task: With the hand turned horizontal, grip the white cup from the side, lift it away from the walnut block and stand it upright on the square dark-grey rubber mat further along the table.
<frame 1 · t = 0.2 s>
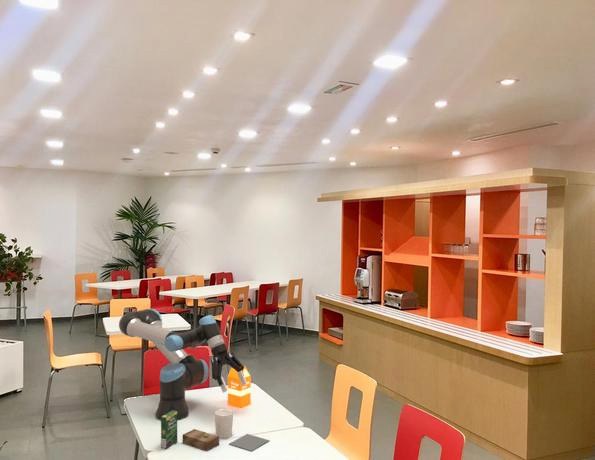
hand: (235, 388, 236), 15 cm above the table, tool tilted 35°, fingers open, 13 cm apart
orange juice: (239, 404, 256), on the table
white cup: (223, 435, 218), on the table
coffee box: (169, 445, 208), on the table
walnut block: (200, 444, 209), on the table
mat: (249, 442, 210), on the table
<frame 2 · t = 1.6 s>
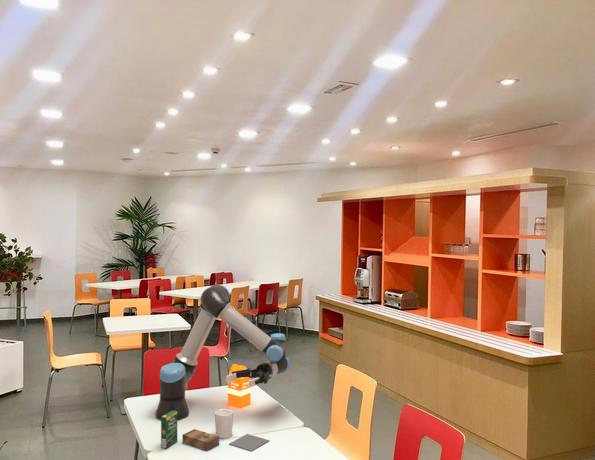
hand: (237, 381, 226), 21 cm above the table, tool horizontal, fingers open, 13 cm apart
nothing on the table moved.
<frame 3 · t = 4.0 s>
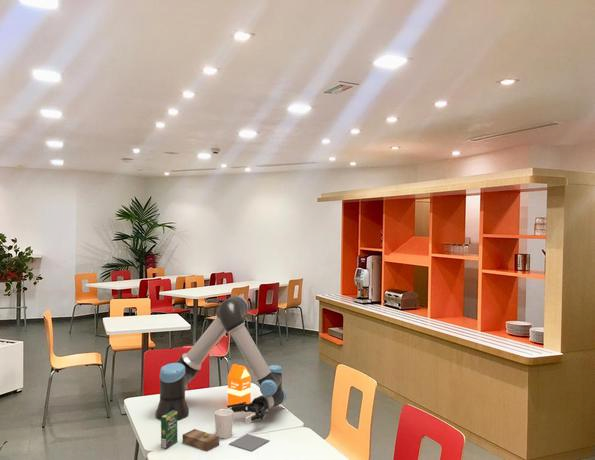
hand: (233, 417, 222), 6 cm above the table, tool horizontal, fingers open, 13 cm apart
nothing on the table moved.
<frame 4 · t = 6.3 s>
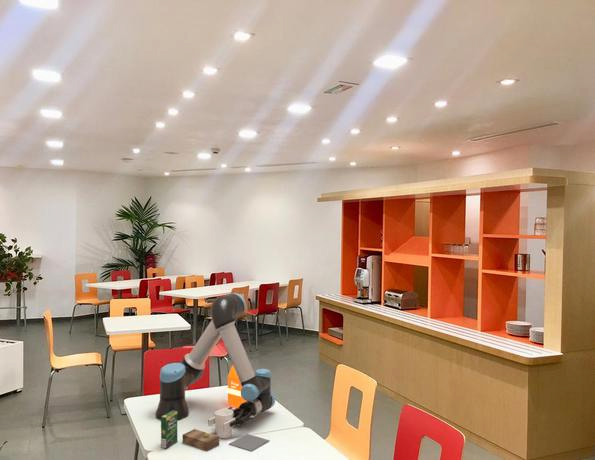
hand: (216, 424, 214), 6 cm above the table, tool horizontal, fingers closed on white cup, 8 cm apart
white cup: (223, 435, 218), on the table, touching gripper
everything else where it was.
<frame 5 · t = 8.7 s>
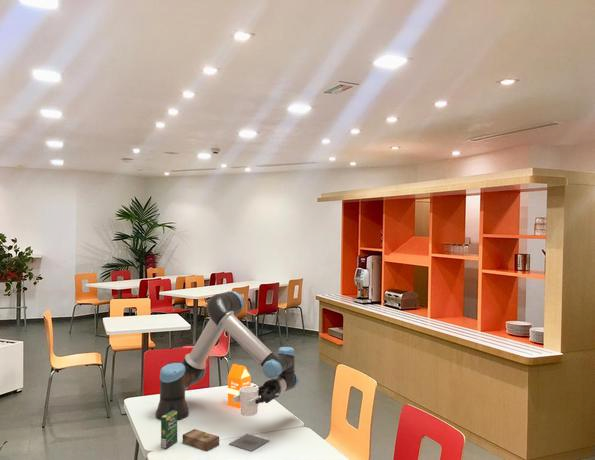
hand: (241, 402, 206), 18 cm above the table, tool horizontal, fingers closed on white cup, 8 cm apart
white cup: (249, 413, 210), point 12 cm above the table, touching gripper
everything else where it was.
when the fingers open (8 cm above the table, at t = 11.0 s): white cup drops 1 cm, resting on mat.
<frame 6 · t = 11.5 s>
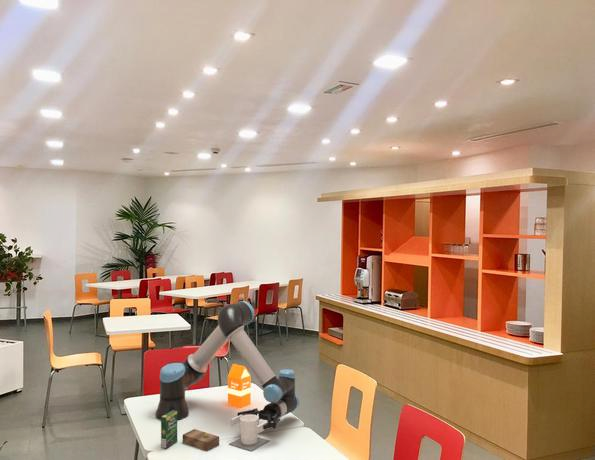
hand: (244, 426, 207), 8 cm above the table, tool horizontal, fingers open, 13 cm apart
white cup: (249, 442, 210), resting on mat
everything else where it was.
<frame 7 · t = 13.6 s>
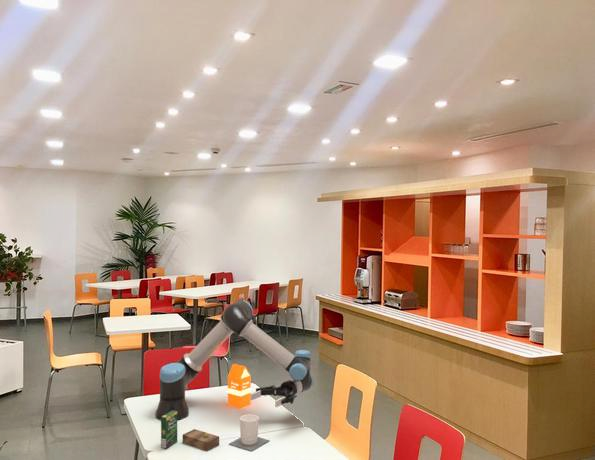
hand: (263, 400, 220), 14 cm above the table, tool horizontal, fingers open, 13 cm apart
nothing on the table moved.
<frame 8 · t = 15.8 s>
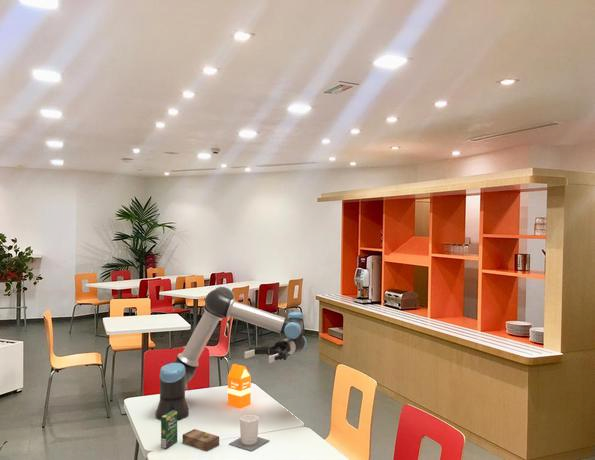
hand: (256, 357, 224), 32 cm above the table, tool horizontal, fingers open, 13 cm apart
nothing on the table moved.
at the end: white cup inside the target area on the mat (0.1 cm from its centre), point 0.2 cm above the mat's base; white cup tilted 0°; the gripper is holding nothing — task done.
